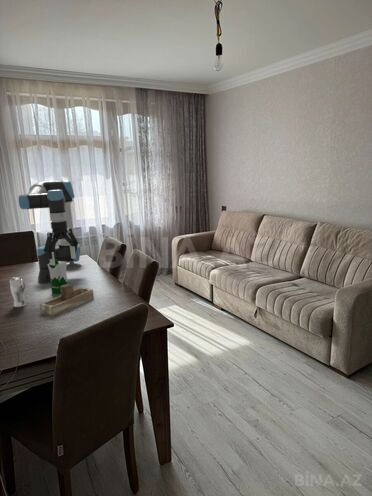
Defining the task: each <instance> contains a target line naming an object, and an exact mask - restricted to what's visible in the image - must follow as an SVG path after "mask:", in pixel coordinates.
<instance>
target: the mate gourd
mask: <svg viewBox="0 0 372 496" xmlns="http://www.w3.org/2000/svg"><path fill="white" fill-rule="evenodd" d="M78 244H79V242H78ZM80 265H81V263H79V262H69V263H67V264H66V269H76V268H79V267H81V266H80ZM78 266H79V267H78ZM75 267H76V268H75Z"/></svg>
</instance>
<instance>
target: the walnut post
mask: <svg viewBox="0 0 372 496" xmlns="http://www.w3.org/2000/svg"><path fill="white" fill-rule="evenodd" d="M60 290H61V294H60V296H61V298H62V302H63V301H65V300H68V299H70V298H72V297H74V292H73V290H74V285H73V284H70V283H68V284H65V285H62V286H60Z"/></svg>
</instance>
